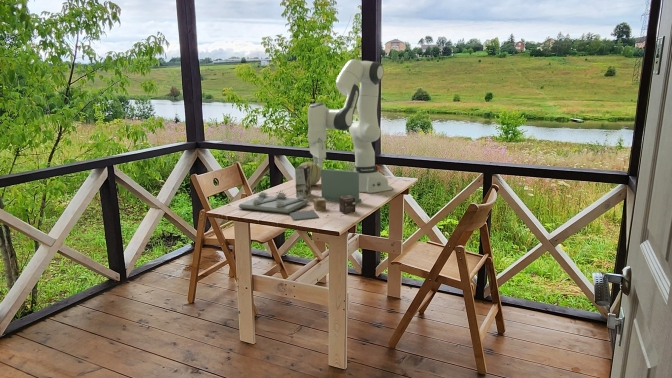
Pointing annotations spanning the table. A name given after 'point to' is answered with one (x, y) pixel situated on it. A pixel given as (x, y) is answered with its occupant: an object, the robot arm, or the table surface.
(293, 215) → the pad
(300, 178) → the coffee box
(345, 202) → the box
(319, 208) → the letter cube
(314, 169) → the cantaloupe
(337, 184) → the screen
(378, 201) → the table surface
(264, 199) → the grey spiky constellation board
